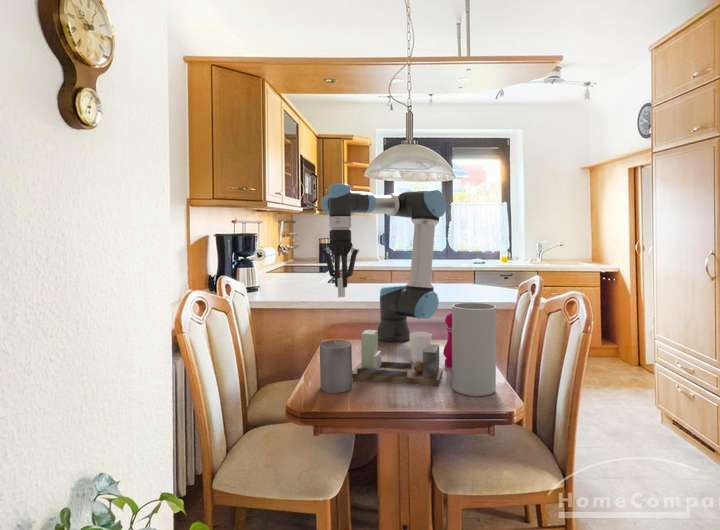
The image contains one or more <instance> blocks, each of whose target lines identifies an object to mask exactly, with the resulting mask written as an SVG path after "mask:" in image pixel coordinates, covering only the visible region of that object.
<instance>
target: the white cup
mask: <svg viewBox="0 0 720 530" xmlns="http://www.w3.org/2000/svg"><path fill="white" fill-rule="evenodd" d="M432 335H433V334H432V333H431V332H427V331H413V332H411V333H410V339H409V349H410V361H411V363H413V362H414V364H415V362H417V361H421V362H423V351H424V349H425V347H426V345H427V344H432Z"/></svg>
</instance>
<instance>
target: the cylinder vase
mask: <svg viewBox="0 0 720 530" xmlns="http://www.w3.org/2000/svg"><path fill="white" fill-rule="evenodd" d="M451 310H452V312H451V313H452V367H451V387H452V389H453V391H455V392H456V393H458V394H460V395H464V396H470V397H486V396H489V395H493V393H495V391H496V386H497V383H496V382H497V380H496V379H497V378H496V377H497V376H496V375H497V373H496V372H497V368H496V367H497V306H496V305H494V304H490V303H485V302H459V303H454V304H452V308H451Z"/></svg>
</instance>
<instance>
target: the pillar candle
mask: <svg viewBox="0 0 720 530" xmlns="http://www.w3.org/2000/svg"><path fill="white" fill-rule="evenodd" d="M352 347H353V346H352V342H351V341H349V340H347V339H346V340H345V339H336V338H335V339H330V340H329V339H328V340H324V341H322V342H320V343H319V367H320V368H319V370H320V371H319V374H320V375H319V376H320V378H319V379H320V390H321V391H322V392H324V393H328V394H339V393H340V394H341V393H344V392H345V393H346V391H347V392H349V391H351V390H352V389H353V380H352V371H353V355H352V353H353V352H352ZM350 389H351V390H350Z"/></svg>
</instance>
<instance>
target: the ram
mask: <svg viewBox="0 0 720 530" xmlns="http://www.w3.org/2000/svg"><path fill="white" fill-rule="evenodd" d="M360 338H361V343H360V344H361V346H360V347H361V363H362V368H373V369H379V368H380V367H381V361H382V351H381V350H379V339H378V329H377V330H376V329H375V330H374V329H365V330H364V331H363V332H362V333H361V335H360Z"/></svg>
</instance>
